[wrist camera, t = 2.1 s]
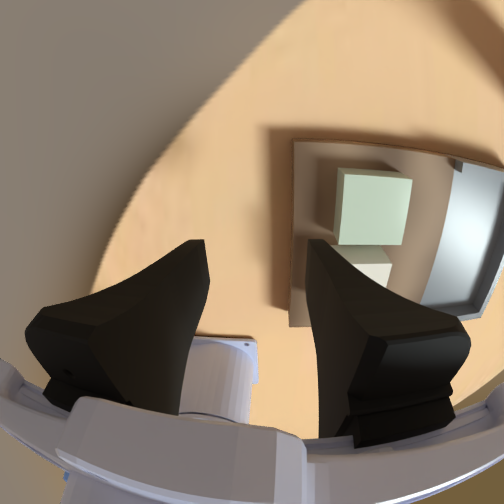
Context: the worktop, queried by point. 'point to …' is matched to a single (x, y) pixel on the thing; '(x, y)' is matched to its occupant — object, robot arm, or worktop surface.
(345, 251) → the cream tile
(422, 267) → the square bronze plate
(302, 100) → the worktop surface
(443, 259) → the slate tray
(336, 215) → the sage tile
